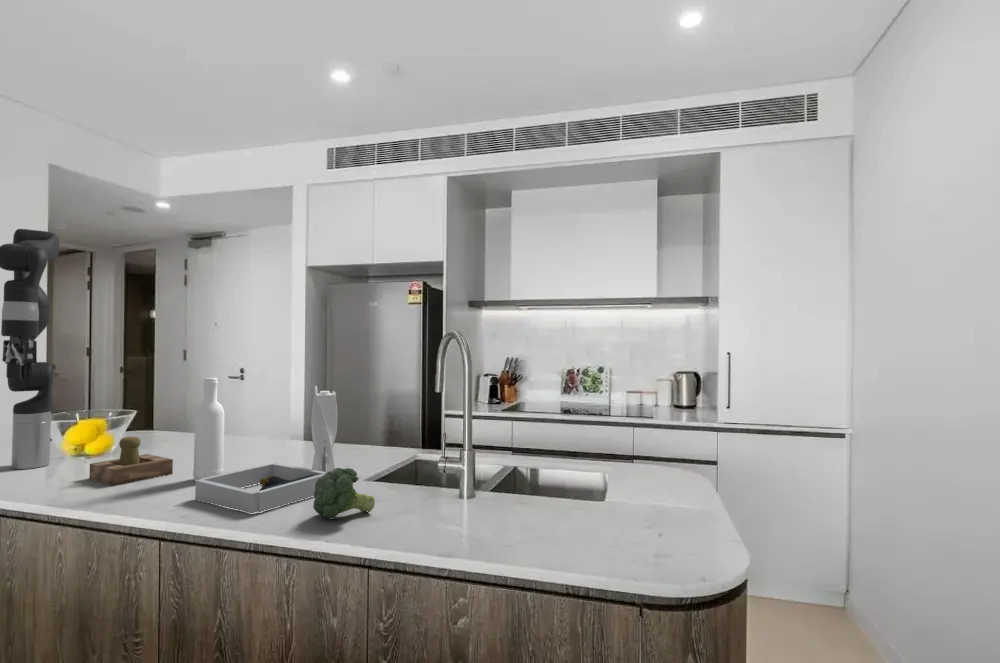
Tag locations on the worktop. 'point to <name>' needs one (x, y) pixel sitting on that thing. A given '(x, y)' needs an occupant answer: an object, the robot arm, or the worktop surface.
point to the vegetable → (339, 494)
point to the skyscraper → (324, 429)
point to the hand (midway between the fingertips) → (18, 378)
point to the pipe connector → (277, 481)
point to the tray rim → (231, 494)
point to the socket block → (130, 470)
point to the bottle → (209, 434)
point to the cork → (129, 451)
